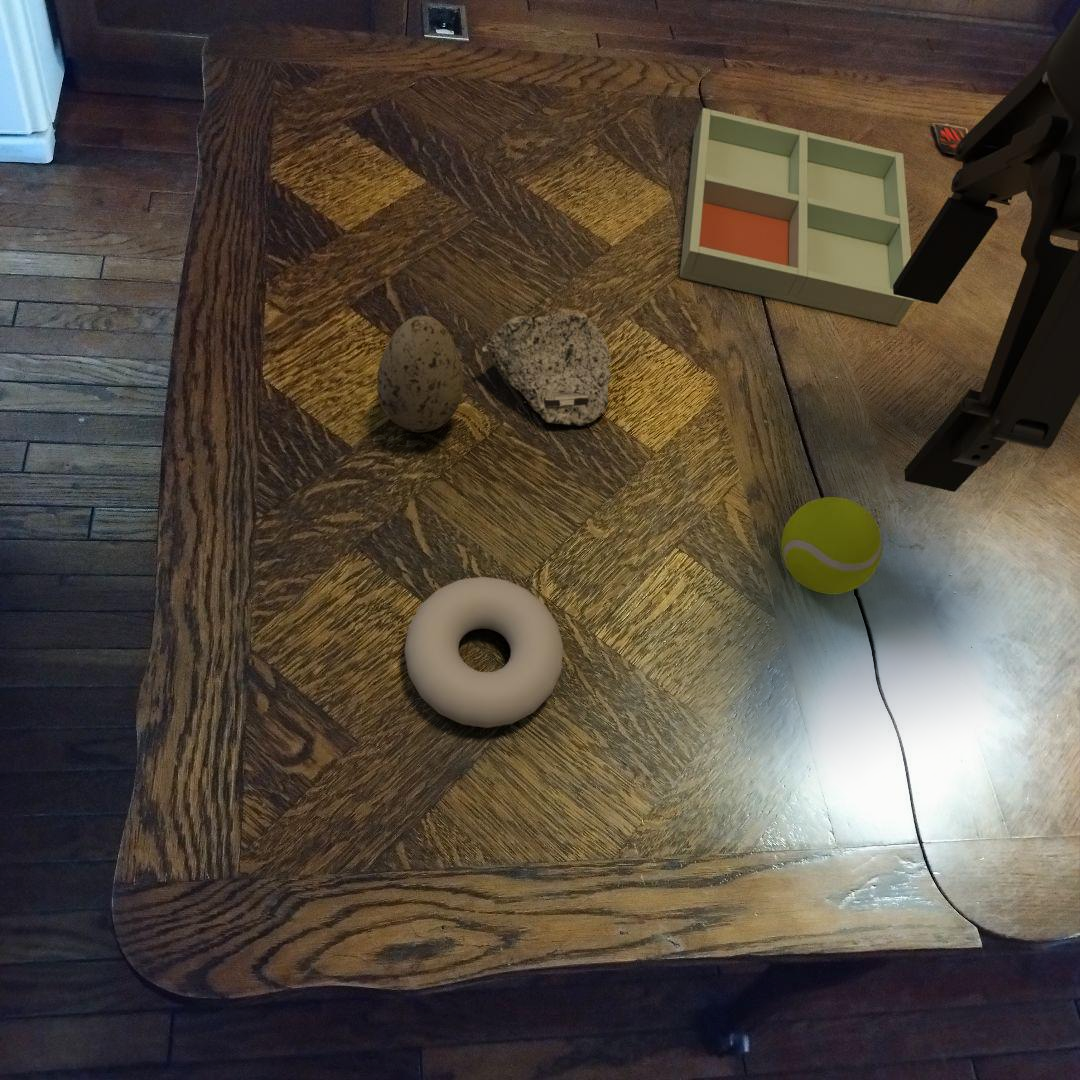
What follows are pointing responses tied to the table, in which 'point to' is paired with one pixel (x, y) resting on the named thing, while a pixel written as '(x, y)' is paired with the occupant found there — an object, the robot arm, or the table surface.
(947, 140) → the matchbox
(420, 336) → the decorative egg
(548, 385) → the rock sample
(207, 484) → the table surface
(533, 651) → the donut
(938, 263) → the robot arm
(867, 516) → the tennis ball
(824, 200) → the grid
